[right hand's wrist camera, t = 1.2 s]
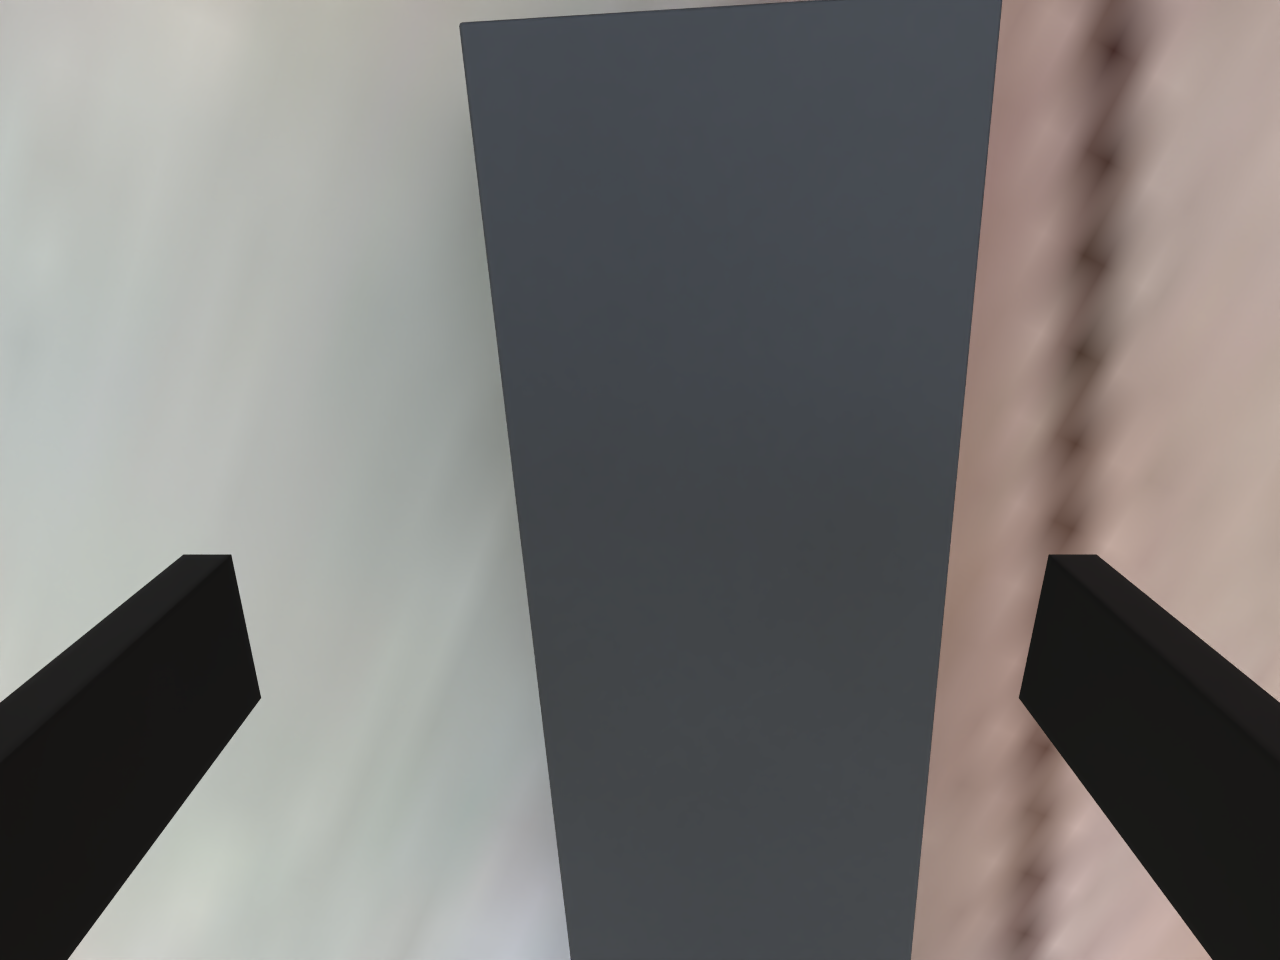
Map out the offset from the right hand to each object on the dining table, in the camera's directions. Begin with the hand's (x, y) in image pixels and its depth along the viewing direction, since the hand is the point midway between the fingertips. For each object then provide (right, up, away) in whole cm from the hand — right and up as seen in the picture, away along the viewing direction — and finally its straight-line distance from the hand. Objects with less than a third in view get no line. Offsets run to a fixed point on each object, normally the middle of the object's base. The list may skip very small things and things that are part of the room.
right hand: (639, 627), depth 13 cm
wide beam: (+4, -19, +21) cm, 28 cm away
